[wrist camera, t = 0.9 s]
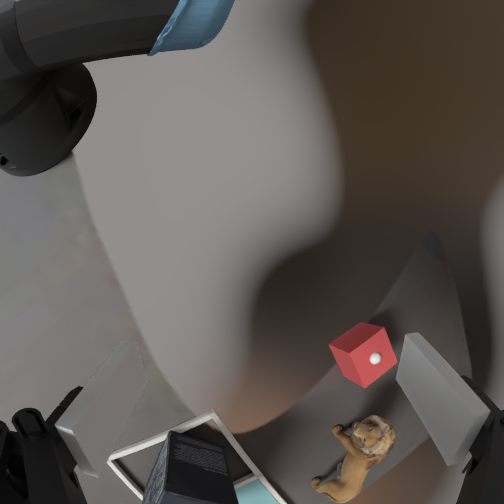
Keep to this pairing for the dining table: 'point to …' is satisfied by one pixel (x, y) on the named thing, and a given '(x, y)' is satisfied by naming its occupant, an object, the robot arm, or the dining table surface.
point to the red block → (364, 353)
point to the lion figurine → (358, 456)
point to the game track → (248, 487)
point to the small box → (190, 473)
